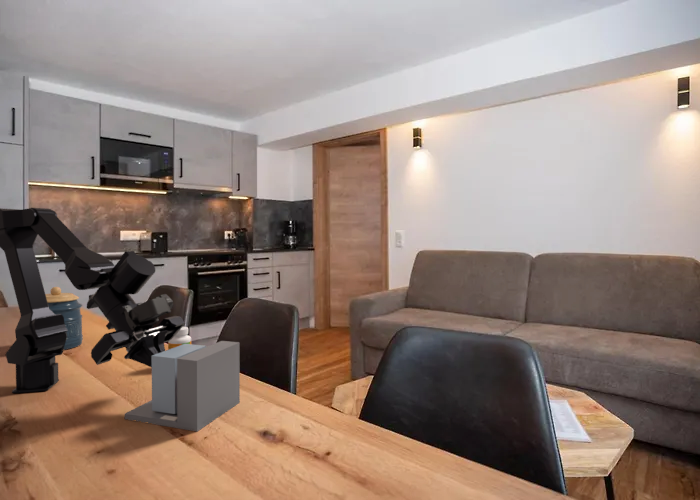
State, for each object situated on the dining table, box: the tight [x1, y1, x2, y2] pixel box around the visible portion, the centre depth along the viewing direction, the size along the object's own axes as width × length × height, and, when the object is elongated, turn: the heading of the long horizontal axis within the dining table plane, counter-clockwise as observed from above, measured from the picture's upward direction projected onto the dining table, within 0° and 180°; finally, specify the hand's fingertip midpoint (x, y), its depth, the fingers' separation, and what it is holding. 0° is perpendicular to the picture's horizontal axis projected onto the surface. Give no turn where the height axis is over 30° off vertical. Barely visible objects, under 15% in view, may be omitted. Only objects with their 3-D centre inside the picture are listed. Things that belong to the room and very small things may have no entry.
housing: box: [124, 340, 241, 432], centre depth 80 cm, size 15×13×12 cm
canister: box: [45, 286, 84, 351], centre depth 124 cm, size 13×13×18 cm
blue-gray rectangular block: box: [151, 343, 207, 414], centre depth 80 cm, size 5×9×10 cm, turn 163°
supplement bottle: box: [167, 326, 192, 350], centre depth 106 cm, size 5×5×10 cm
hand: (167, 371), depth 81 cm, fingers closed
